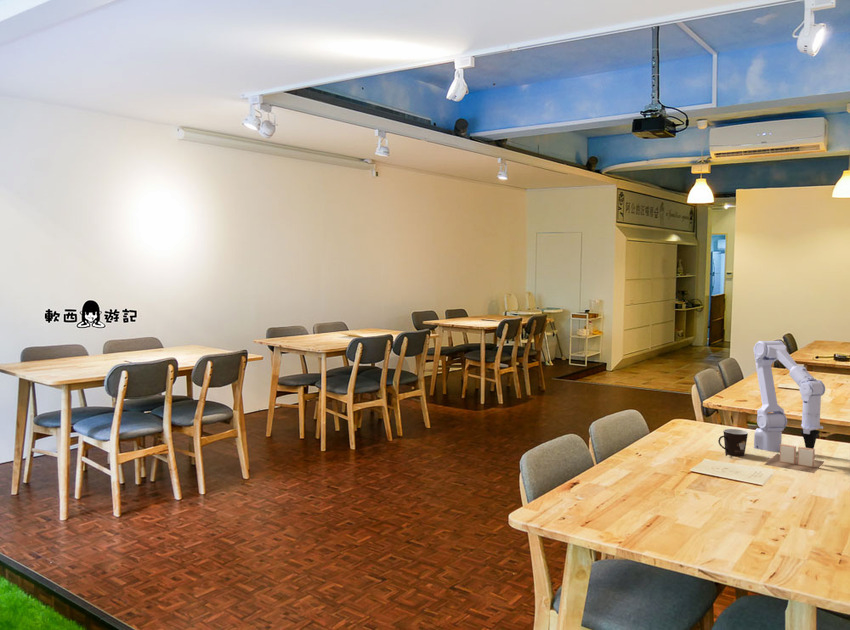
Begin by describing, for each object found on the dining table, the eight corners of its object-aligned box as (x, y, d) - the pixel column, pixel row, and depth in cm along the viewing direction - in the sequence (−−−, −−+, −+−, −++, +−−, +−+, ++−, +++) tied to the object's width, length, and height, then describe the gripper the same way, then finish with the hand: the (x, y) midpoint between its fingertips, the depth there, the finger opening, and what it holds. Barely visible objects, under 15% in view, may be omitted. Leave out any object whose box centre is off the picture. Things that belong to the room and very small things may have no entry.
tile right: (797, 465, 247) (798, 447, 246) (798, 464, 248) (799, 446, 248) (813, 467, 244) (813, 449, 243) (814, 466, 245) (814, 448, 244)
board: (764, 467, 248) (764, 464, 247) (776, 456, 262) (776, 453, 262) (813, 476, 237) (813, 473, 237) (824, 464, 252) (824, 461, 252)
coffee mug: (742, 454, 265) (743, 429, 265) (750, 460, 257) (751, 434, 256) (711, 453, 266) (712, 428, 266) (718, 459, 258) (719, 433, 257)
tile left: (779, 462, 251) (780, 444, 250) (780, 461, 252) (781, 443, 252) (794, 464, 247) (795, 447, 247) (795, 463, 249) (796, 446, 248)
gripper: (819, 418, 241) (818, 455, 242) (827, 411, 252) (825, 447, 253) (797, 415, 245) (795, 452, 246) (805, 409, 256) (804, 444, 257)
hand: (809, 449), depth 250 cm, fingers closed
